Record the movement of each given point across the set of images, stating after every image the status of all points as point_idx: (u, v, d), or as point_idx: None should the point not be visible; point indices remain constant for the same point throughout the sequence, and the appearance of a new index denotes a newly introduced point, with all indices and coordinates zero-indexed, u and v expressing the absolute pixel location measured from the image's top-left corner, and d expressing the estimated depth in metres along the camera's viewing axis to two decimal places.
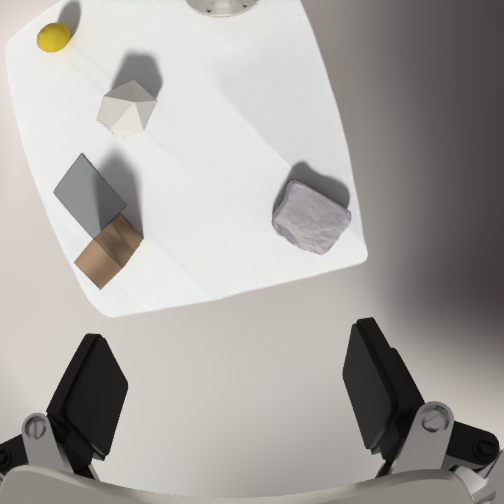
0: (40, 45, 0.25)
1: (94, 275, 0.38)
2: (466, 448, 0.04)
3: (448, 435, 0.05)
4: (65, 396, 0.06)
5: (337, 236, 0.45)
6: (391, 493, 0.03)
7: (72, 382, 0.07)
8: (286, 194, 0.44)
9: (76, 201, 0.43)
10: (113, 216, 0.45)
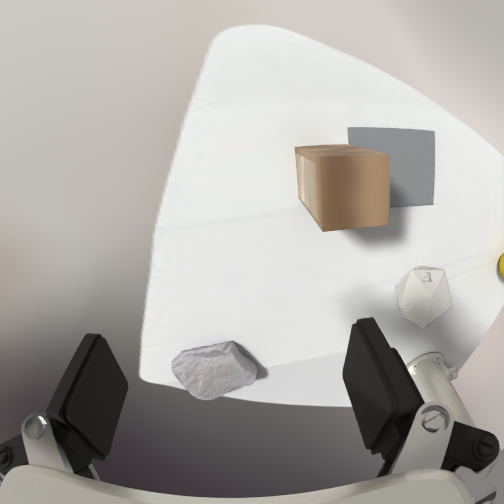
0: None
1: (347, 171, 0.20)
2: (466, 448, 0.04)
3: (448, 434, 0.05)
4: (65, 396, 0.06)
5: (188, 389, 0.41)
6: (391, 493, 0.03)
7: (72, 382, 0.07)
8: (248, 363, 0.41)
9: (404, 151, 0.30)
10: None
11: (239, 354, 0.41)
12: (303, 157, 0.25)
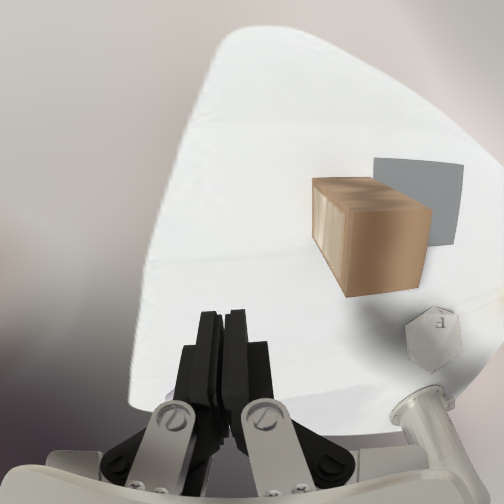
0: None
1: (384, 230, 0.16)
2: (305, 459, 0.05)
3: (290, 423, 0.06)
4: (208, 375, 0.07)
5: None
6: (391, 493, 0.03)
7: (209, 360, 0.08)
8: None
9: (431, 187, 0.26)
10: None
11: None
12: (326, 199, 0.21)
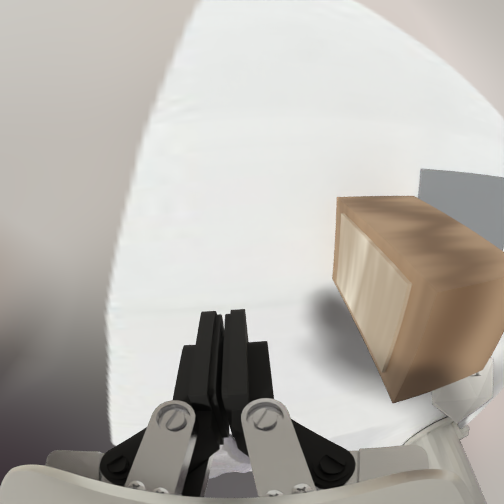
0: None
1: (469, 312, 0.08)
2: (305, 459, 0.05)
3: (290, 423, 0.06)
4: (208, 375, 0.07)
5: None
6: (391, 493, 0.03)
7: (209, 360, 0.08)
8: None
9: (482, 208, 0.18)
10: None
11: (234, 446, 0.29)
12: (369, 241, 0.12)
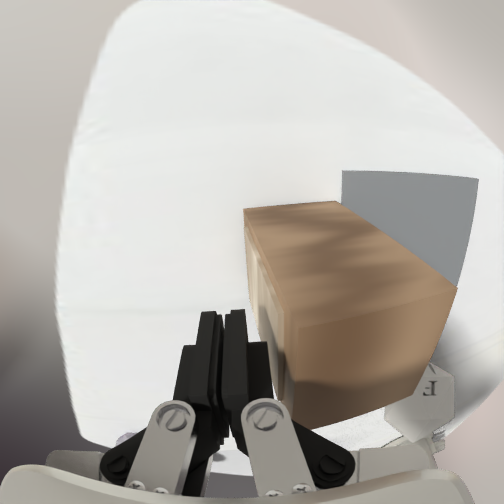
0: None
1: (364, 344, 0.08)
2: (305, 459, 0.05)
3: (291, 423, 0.06)
4: (208, 375, 0.07)
5: None
6: (391, 493, 0.03)
7: (209, 359, 0.08)
8: None
9: (431, 212, 0.18)
10: None
11: None
12: (257, 259, 0.12)
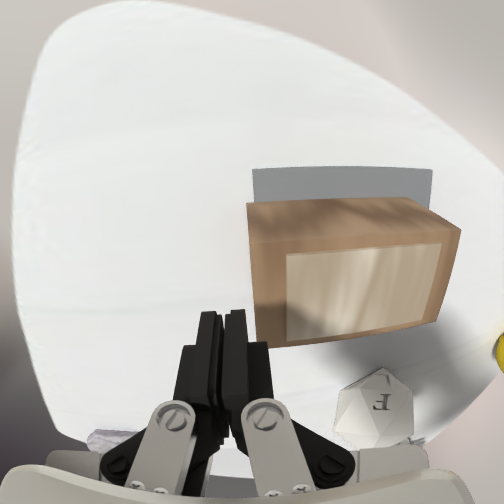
0: None
1: None
2: (305, 459, 0.05)
3: (290, 422, 0.06)
4: (208, 375, 0.07)
5: None
6: (391, 493, 0.03)
7: (209, 360, 0.08)
8: None
9: None
10: None
11: None
12: (378, 248, 0.12)
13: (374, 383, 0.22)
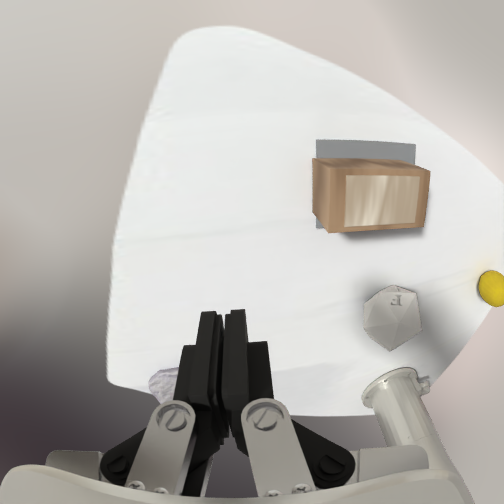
0: None
1: None
2: (305, 459, 0.05)
3: (290, 422, 0.06)
4: (208, 375, 0.07)
5: None
6: (391, 493, 0.03)
7: (209, 360, 0.08)
8: None
9: None
10: None
11: None
12: (387, 175, 0.23)
13: (389, 289, 0.34)
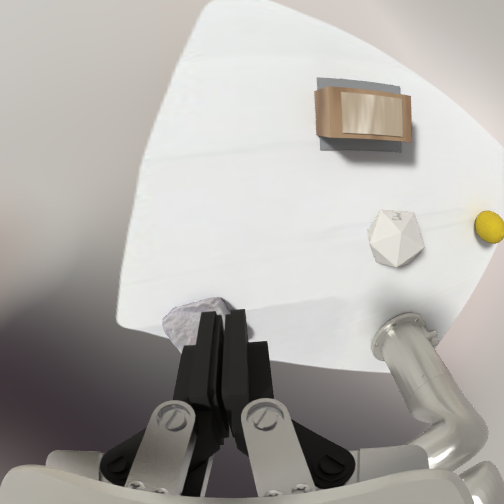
0: (498, 223, 0.34)
1: None
2: (305, 459, 0.05)
3: (290, 422, 0.06)
4: (208, 375, 0.07)
5: (177, 346, 0.44)
6: (391, 493, 0.03)
7: (209, 360, 0.08)
8: None
9: None
10: None
11: (226, 310, 0.45)
12: (374, 95, 0.27)
13: None
